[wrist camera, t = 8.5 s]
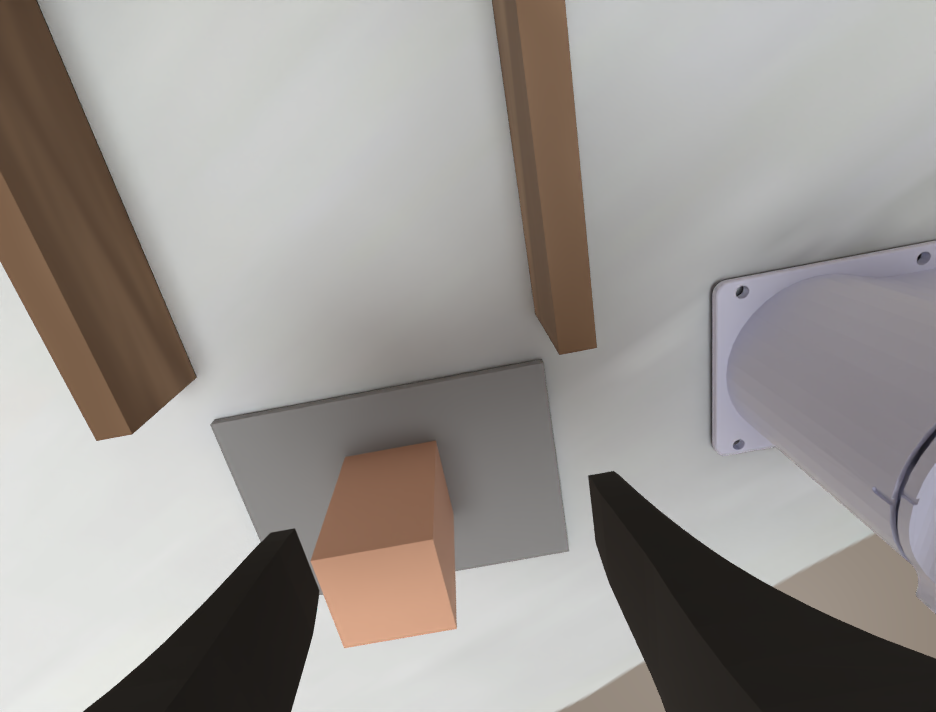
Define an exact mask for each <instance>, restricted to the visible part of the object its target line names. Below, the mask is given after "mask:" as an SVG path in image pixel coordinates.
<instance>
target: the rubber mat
mask: <svg viewBox="0 0 936 712" xmlns="http://www.w3.org/2000/svg"><path fill="white" fill-rule="evenodd" d="M211 427H212V430H213V432H214V434H215V437H216V439H217V441H218V444H219V446H220V448H221V451H222V453H223V455H224V458H225V460H226V462H227V465H228V467H229V469H230V472H231V474H232V476H233V478H234V481H235V483H236V485H237V488H238V490H239V492H240V495H241V497H242V499H243V502H244V504H245V506H246V509H247V511H248V513H249V516H250V518H251V520H252V523H253V525H254V527H255V530H256V532H257V534H258V537H259V539H260V541H261V542H262V541H263V540H264V539H265V538H266V537H267V536H268V535H269V534H270V533H271V532H277V531H282V530H288V529H293V528H295V529H296V532H297V534H298V537H299V540H300V542H301V545H302V547H303V550H304V552H305V555H306V557H307V560H308V563H309V565H310V568H311V570H312V573H313V575H314V578H315V580H316V583H317V585H318V588H319V595H323V592H322V590H321V587H320V584H319V582H318V579H317V577H316V574H315V572H314V569H313V566H312V564H311V558H312V555H313V552H314V549H315V546H316V543H317V540H318V537H319V534H320V531H321V528H322V525H323V522H324V519H325V516H326V513H327V510H328V507H329V504H330V501H331V498H332V495H333V492H334V489H335V486H336V483H337V480H338V477H339V474H340V471H341V468H342V465H343V462H344V459H345V457H348V456H354V455H359V454H365V453H370V452H376V451H381V450H387V449H392V448H397V447H403V446H408V445H414V444H419V443H425V442H430V441H436V443H437V447H438V451H439V455H440V460H441V464H442V468H443V472H444V476H445V480H446V485H447V489H448V493H449V497H450V501H451V505H452V510H453V514H454V547H455V571H459V570H465V569H471V568H476V567H482V566H488V565H494V564H499V563H505V562H511V561H516V560H522V559H528V558H533V557H539V556H545V555H551V554H556V553H562V552H568V551H569V547H568V540H567V532H566V525H565V518H564V510H563V503H562V496H561V488H560V481H559V474H558V467H557V459H556V452H555V445H554V437H553V430H552V423H551V415H550V408H549V401H548V394H547V386H546V379H545V372H544V364H543V361H542V359H540V360H535V361H530V362H524V363H519V364H513V365H508V366H503V367H497V368H492V369H487V370H481V371H476V372H470V373H465V374H460V375H454V376H449V377H444V378H438V379H433V380H427V381H422V382H417V383H411V384H406V385H400V386H395V387H390V388H384V389H379V390H374V391H368V392H363V393H357V394H352V395H347V396H341V397H336V398H331V399H325V400H320V401H314V402H309V403H304V404H298V405H293V406H287V407H282V408H277V409H271V410H266V411H261V412H255V413H250V414H244V415H239V416H234V417H228V418H223V419H218V420H214V421H213V422H212V423H211Z"/></svg>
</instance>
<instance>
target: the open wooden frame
mask: <svg viewBox="0 0 936 712" xmlns="http://www.w3.org/2000/svg"><path fill="white" fill-rule="evenodd" d="M492 4H493V11H494V19H495V26H496V33H497V40H498V48H499V55H500V62H501V69H502V77H503V84H504V91H505V98H506V106H507V113H508V120H509V127H510V134H511V142H512V149H513V156H514V163H515V171H516V178H517V185H518V192H519V200H520V207H521V214H522V221H523V229H524V236H525V243H526V250H527V258H528V265H529V272H530V279H531V287H532V294H533V301H534V308H535V314H536V316H537V318H538V319H539V321H540V323H541V324H542V326H543V328H544V330H545V331H546V333H547V335H548V336H549V338H550V340H551V341H552V343H553V345H554V347H555V348H556V350H557V352H558V353H559V355H561V354H567V353H572V352H577V351H583V350H588V349H594V348H597V344H596V333H595V322H594V311H593V300H592V289H591V278H590V268H589V257H588V246H587V235H586V224H585V213H584V203H583V192H582V181H581V170H580V159H579V148H578V137H577V127H576V116H575V105H574V94H573V83H572V72H571V61H570V51H569V40H568V29H567V18H566V7H565V0H492ZM0 262H1V263H2V265H3V267H4V269H5V271H6V273H7V275H8V277H9V278H10V280H11V282H12V284H13V286H14V288H15V290H16V291H17V293H18V295H19V297H20V299H21V301H22V303H23V305H24V306H25V308H26V310H27V312H28V314H29V316H30V318H31V320H32V321H33V323H34V325H35V327H36V329H37V331H38V333H39V334H40V336H41V338H42V340H43V342H44V344H45V346H46V348H47V349H48V351H49V353H50V355H51V357H52V359H53V361H54V362H55V364H56V366H57V368H58V370H59V372H60V374H61V376H62V377H63V379H64V381H65V383H66V385H67V387H68V389H69V390H70V392H71V394H72V396H73V398H74V400H75V402H76V404H77V405H78V407H79V409H80V411H81V413H82V415H83V417H84V418H85V420H86V422H87V424H88V426H89V428H90V430H91V432H92V433H93V435H94V437H95V439H96V441H99V440H104V439H109V438H115V437H120V436H126V435H131V434H133V433H134V432H135V431H136V430H138V429H139V428H140V427H141V426H142V425H143V424H144V423H146V422H147V421H148V420H149V419H150V418H151V417H152V416H154V415H155V414H156V413H157V412H158V411H159V410H160V409H161V408H163V407H164V406H165V405H166V404H167V403H168V402H169V401H171V400H172V399H173V398H174V397H175V396H176V395H177V394H178V393H180V392H181V391H182V390H183V389H184V388H185V387H186V386H188V385H189V384H190V383H191V382H192V381H193V380H194V379H195V378H196V375H195V373H194V371H193V368H192V366H191V364H190V361H189V359H188V357H187V354H186V352H185V349H184V347H183V345H182V342H181V340H180V338H179V335H178V333H177V331H176V328H175V326H174V324H173V321H172V319H171V317H170V314H169V312H168V309H167V307H166V305H165V302H164V300H163V298H162V295H161V293H160V291H159V288H158V286H157V284H156V281H155V279H154V277H153V274H152V272H151V269H150V267H149V265H148V262H147V260H146V258H145V255H144V253H143V251H142V248H141V246H140V244H139V241H138V239H137V237H136V234H135V232H134V229H133V227H132V225H131V222H130V220H129V218H128V215H127V213H126V211H125V208H124V206H123V204H122V201H121V199H120V197H119V194H118V192H117V189H116V187H115V185H114V182H113V180H112V178H111V175H110V173H109V171H108V168H107V166H106V164H105V161H104V159H103V157H102V154H101V152H100V149H99V147H98V145H97V142H96V140H95V138H94V135H93V133H92V131H91V128H90V126H89V124H88V121H87V119H86V117H85V114H84V112H83V109H82V107H81V105H80V102H79V100H78V98H77V95H76V93H75V91H74V88H73V86H72V84H71V81H70V79H69V77H68V74H67V72H66V69H65V67H64V65H63V62H62V60H61V58H60V55H59V53H58V51H57V48H56V46H55V44H54V41H53V39H52V37H51V34H50V32H49V29H48V27H47V25H46V22H45V20H44V18H43V15H42V13H41V11H40V8H39V6H38V4H37V1H36V0H0Z"/></svg>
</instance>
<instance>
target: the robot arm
mask: <svg viewBox="0 0 936 712" xmlns="http://www.w3.org/2000/svg"><path fill="white" fill-rule="evenodd" d="M920 254H921V258H920V259H919V260H918V261H917V258H918V256H919V255H920ZM740 286H743V288H744V289H743V292H742V293H741V294H740V295H738V296H736V290H737V289H738V288H739V287H740ZM739 439H740V440H739ZM736 440H739V442H738V443H737V444H735V445H733V443H734V442H735V441H736ZM712 445H713V448H714V449H715V451H716V452H717V453H718V454H720V455H722V456H727V455H733V454H738V453H744V452H750V451H755V450H761V449H766V448H772V447H777V448H778V449H779V450H780V451H781V452H782V453H783V454H785V455H786V456H787V457H788V458H789V459H790V460H792V461H793V462H794V463H795V464H796V465H797V466H798V467H800V468H801V469H802V470H803V471H804V472H805V473H807V474H808V475H809V476H810V477H811V478H812V479H813V480H815V481H816V482H817V483H818V484H819V485H820V486H822V487H823V488H824V489H825V490H826V491H827V492H828V493H830V494H831V495H832V496H833V497H834V498H835V499H836V500H838V501H839V502H840V503H841V504H842V505H843V506H845V507H846V508H847V509H848V510H849V511H850V512H851V513H853V514H854V515H855V516H856V517H857V518H858V519H860V520H861V521H862V522H863V523H864V524H865V525H866V526H868V527H869V528H870V529H871V530H872V531H873V532H875V533H876V534H877V535H878V536H879V537H880V538H881V539H883V540H884V541H885V542H886V543H887V544H888V545H890V546H891V547H892V548H893V549H894V550H895V551H896V552H898V553H899V554H900V555H901V556H902V557H903V558H905V559H906V560H907V561H908V562H909V563H910V564H911V565H913V567H914V568H915V570H916V572H917V575H918V588H917V592H916V596H917V597H918V598H919V599H920V600H921V601H922V602H923V603H924V604H925V605H926V606H928V607H929V608H930V609H931V610H932V611H933V612H934V613H935V614H936V241H930V242H925V243H920V244H915V245H909V246H904V247H899V248H893V249H888V250H883V251H877V252H872V253H867V254H861V255H856V256H851V257H845V258H840V259H835V260H830V261H824V262H819V263H814V264H808V265H803V266H798V267H792V268H787V269H782V270H776V271H771V272H766V273H760V274H755V275H750V276H744V277H739V278H734V279H729V280H724V281H722V282H720V283H718V284H717V285H716V286H715V288H714V290H713V294H712ZM588 477H589V486H590V495H591V504H592V513H593V522H594V531H595V541H596V545H597V548H598V551H599V554H600V557H601V560H602V563H603V566H604V569H605V572H606V575H607V578H608V581H609V584H610V586H611V588H612V590H613V593H614V595H615V597H616V599H617V601H618V604H619V606H620V608H621V610H622V612H623V615H624V617H625V619H626V621H627V623H628V625H629V628H630V630H631V632H632V634H633V636H634V638H635V641H636V643H637V645H638V647H639V649H640V651H641V654H642V656H643V658H644V660H645V662H646V664H647V667H648V669H649V671H650V673H651V675H652V678H653V680H654V683H655V685H656V687H657V690H658V692H659V695H660V697H661V699H662V703H663V705H664V708H665V711H666V712H936V659H935V658H932V657H930V656H927V655H924V654H922V653H919V652H917V651H914V650H911V649H908V648H906V647H903V646H901V645H898V644H895V643H893V642H890V641H887V640H885V639H882V638H880V637H877V636H875V635H872V634H870V633H868V632H866V631H863V630H861V629H859V628H856V627H854V626H852V625H850V624H847V623H845V622H842V621H840V620H838V619H836V618H833V617H831V616H829V615H827V614H825V613H823V612H821V611H819V610H817V609H815V608H812V607H810V606H808V605H806V604H804V603H803V602H801V601H799V600H797V599H795V598H793V597H791V596H789V595H787V594H785V593H783V592H781V591H779V590H777V589H775V588H773V587H772V586H770V585H768V584H766V583H764V582H763V581H761V580H759V579H757V578H756V577H754V576H752V575H751V574H749V573H747V572H746V571H744V570H742V569H741V568H739V567H737V566H736V565H734V564H732V563H731V562H729V561H728V560H726V559H724V558H723V557H721V556H720V555H718V554H717V553H716V552H714V551H713V550H711V549H710V548H708V547H707V546H705V545H704V544H703V543H701V542H700V541H698V540H697V539H696V538H694V537H693V536H691V535H690V534H689V533H687V532H686V531H685V530H683V529H682V528H681V527H680V526H678V525H677V524H676V523H674V522H673V521H672V520H671V519H669V518H668V517H667V516H666V515H664V514H663V513H662V512H661V511H659V510H658V509H657V508H656V507H655V506H653V505H652V504H651V503H650V502H649V501H648V500H646V499H645V498H644V497H643V496H642V495H641V494H639V493H638V492H637V491H636V490H635V489H634V488H633V487H632V486H631V485H629V484H628V483H627V482H626V481H625V480H624V479H623V478H622V477H621V476H620V475H619V474H617V473H616V472H614V471H611V472H606V473H600V474H595V475H589V476H588ZM318 599H319V588H318V585H317V583H316V580H315V578H314V575H313V573H312V570H311V568H310V565H309V563H308V560H307V557H306V555H305V552H304V550H303V547H302V545H301V542H300V540H299V537H298V534H297V532H296V529H295V528H293V529H288V530H282V531H277V532H271V533H270V534H269V535H268V536H267V537H266V538H265V539H264V540H263V541H262V542H261V543H260V544H259V545H258V546H257V547H256V548H255V549H254V550H253V551H252V552H251V553H250V554H249V555H248V556H247V558H246V559H245V560H244V561H243V562H242V563H241V564H240V565H239V566H238V567H237V568H236V569H235V571H234V572H233V573H232V574H231V575H230V576H229V577H228V578H227V579H226V580H225V581H224V582H223V583H222V584H221V585H220V587H219V588H218V589H217V590H216V591H215V592H214V593H213V594H212V595H211V596H210V597H209V598H208V599H207V600H206V601H205V602H204V603H203V604H202V605H201V606H200V607H199V608H198V609H197V610H196V611H195V612H194V613H193V614H192V615H191V616H190V617H189V618H188V619H187V620H186V621H185V622H184V623H183V624H182V625H181V626H180V627H179V628H178V629H177V630H176V631H175V632H174V633H173V634H172V635H171V636H170V637H169V638H168V639H167V640H166V641H165V642H164V643H163V644H162V645H161V646H160V647H159V648H158V649H157V650H156V651H154V652H153V653H152V654H151V655H150V656H149V657H148V658H147V659H146V660H145V661H143V662H142V663H141V664H140V665H139V666H138V667H137V668H135V669H134V670H133V671H132V672H131V673H130V674H129V675H127V676H126V677H125V678H124V679H123V680H122V681H120V682H119V683H118V684H117V685H116V686H115V687H113V688H112V689H111V690H110V691H109V692H107V693H106V694H105V695H103V696H102V697H101V698H100V699H98V700H97V701H96V702H95V703H93V704H92V705H91V706H89V707H88V708H87V709H86V710H84V711H83V712H291V710H292V706H293V703H294V699H295V696H296V693H297V689H298V686H299V682H300V679H301V675H302V672H303V668H304V665H305V661H306V658H307V654H308V650H309V647H310V643H311V639H312V636H313V631H314V625H315V619H316V613H317V606H318Z"/></svg>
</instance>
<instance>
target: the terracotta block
mask: <svg viewBox="0 0 936 712" xmlns="http://www.w3.org/2000/svg"><path fill="white" fill-rule="evenodd" d="M311 564H312V566H313V569H314V572H315V574H316V577H317V579H318V582H319V584H320V587H321V590H322V592H323V595H324V597H325V600H326V602H327V605H328V608H329V610H330V613H331V615H332V618H333V620H334V623H335V625H336V628H337V631H338V633H339V636H340V638H341V641H342V643H343V646H344V648H348V647H354V646H359V645H365V644H371V643H377V642H383V641H388V640H394V639H400V638H406V637H412V636H417V635H423V634H429V633H435V632H441V631H446V630H452V629H457V623H456V585H455V547H454V514H453V510H452V505H451V501H450V497H449V493H448V489H447V485H446V480H445V476H444V472H443V468H442V464H441V460H440V455H439V451H438V447H437V443H436V441H430V442H425V443H419V444H414V445H408V446H403V447H397V448H392V449H387V450H381V451H376V452H370V453H365V454H359V455H354V456H348V457H345V459H344V462H343V465H342V468H341V471H340V474H339V477H338V480H337V483H336V486H335V489H334V492H333V495H332V498H331V501H330V504H329V507H328V510H327V513H326V516H325V519H324V522H323V525H322V528H321V531H320V534H319V537H318V540H317V543H316V546H315V549H314V552H313V555H312V558H311Z"/></svg>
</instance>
